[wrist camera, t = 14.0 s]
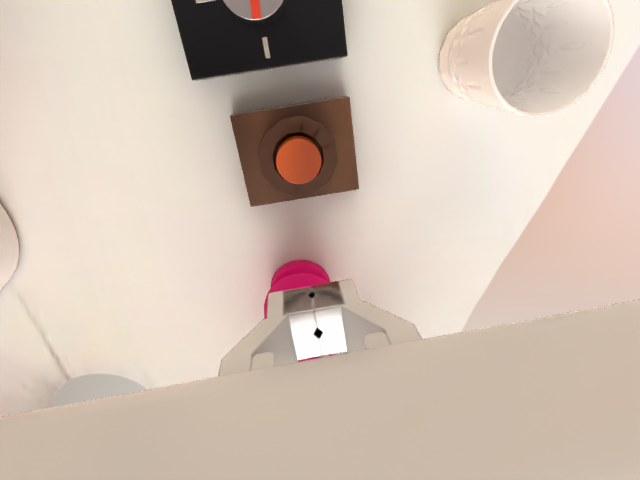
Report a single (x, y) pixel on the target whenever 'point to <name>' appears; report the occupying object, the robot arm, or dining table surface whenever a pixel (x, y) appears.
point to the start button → (298, 160)
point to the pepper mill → (298, 282)
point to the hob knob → (256, 11)
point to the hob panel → (258, 37)
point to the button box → (296, 120)
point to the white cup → (528, 54)
